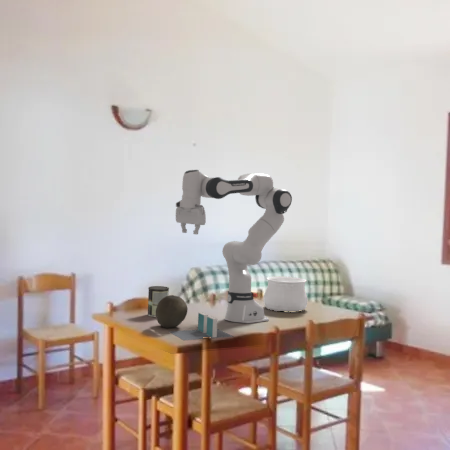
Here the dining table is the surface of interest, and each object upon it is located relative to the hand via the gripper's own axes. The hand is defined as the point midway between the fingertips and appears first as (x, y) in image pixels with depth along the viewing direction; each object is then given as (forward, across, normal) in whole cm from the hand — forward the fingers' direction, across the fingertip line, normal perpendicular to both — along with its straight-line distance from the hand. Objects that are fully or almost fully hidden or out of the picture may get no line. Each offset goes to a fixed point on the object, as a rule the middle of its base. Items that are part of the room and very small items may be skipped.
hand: (190, 233), depth 299 cm
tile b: (+43, -27, +5) cm, 51 cm away
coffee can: (+44, +24, +1) cm, 50 cm away
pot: (+44, +9, -72) cm, 85 cm away
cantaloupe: (+43, -3, +11) cm, 45 cm away
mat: (+43, -22, +7) cm, 49 cm away
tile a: (+43, -18, +4) cm, 46 cm away
